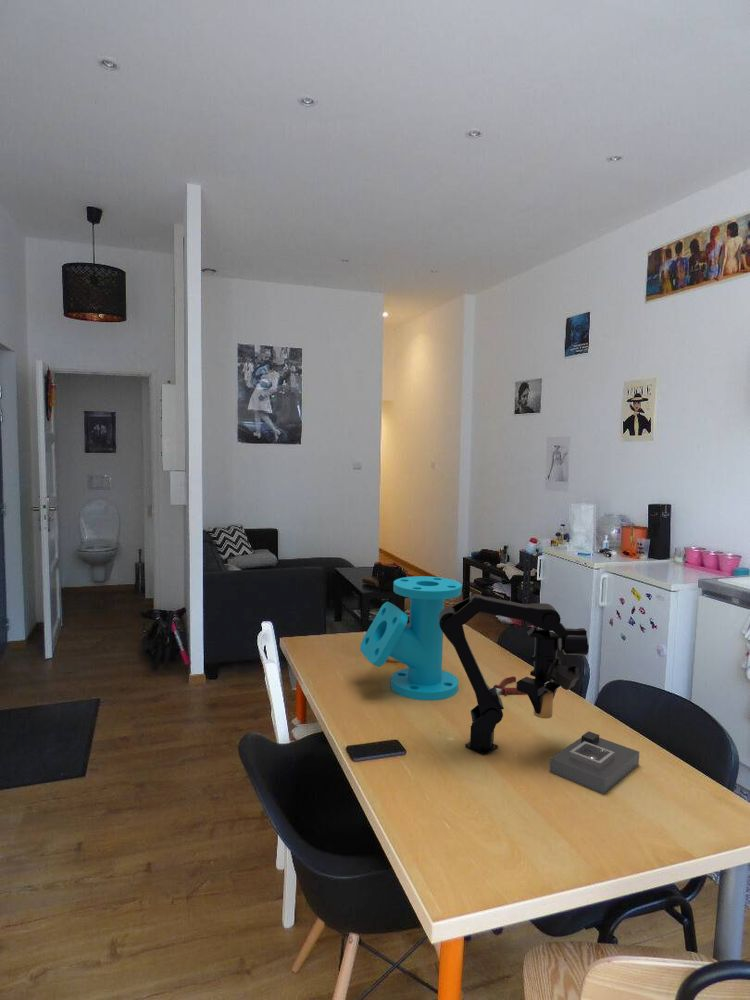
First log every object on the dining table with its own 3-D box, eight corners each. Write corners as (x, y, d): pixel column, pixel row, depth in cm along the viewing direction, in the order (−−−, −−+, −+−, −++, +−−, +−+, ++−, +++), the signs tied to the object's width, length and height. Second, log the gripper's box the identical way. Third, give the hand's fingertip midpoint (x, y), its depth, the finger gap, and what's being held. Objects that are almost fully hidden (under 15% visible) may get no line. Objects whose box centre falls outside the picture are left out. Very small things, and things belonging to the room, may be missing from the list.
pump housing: (546, 720, 163) (547, 694, 162) (523, 712, 167) (524, 687, 167) (555, 714, 166) (556, 689, 166) (533, 707, 171) (534, 682, 170)
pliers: (470, 693, 206) (470, 686, 206) (512, 682, 217) (513, 674, 217) (495, 706, 197) (496, 698, 196) (538, 693, 208) (539, 685, 208)
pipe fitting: (469, 696, 202) (473, 589, 199) (374, 706, 193) (377, 594, 190) (442, 672, 224) (445, 575, 220) (355, 680, 214) (357, 578, 211)
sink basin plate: (604, 794, 147) (605, 774, 146) (549, 771, 156) (550, 752, 156) (638, 764, 161) (639, 746, 160) (586, 745, 171) (587, 727, 170)
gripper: (556, 669, 152) (553, 732, 154) (591, 652, 166) (588, 709, 167) (516, 658, 160) (513, 717, 162) (552, 642, 174) (549, 697, 175)
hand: (543, 710), depth 166 cm, fingers closed on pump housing, 5 cm apart
